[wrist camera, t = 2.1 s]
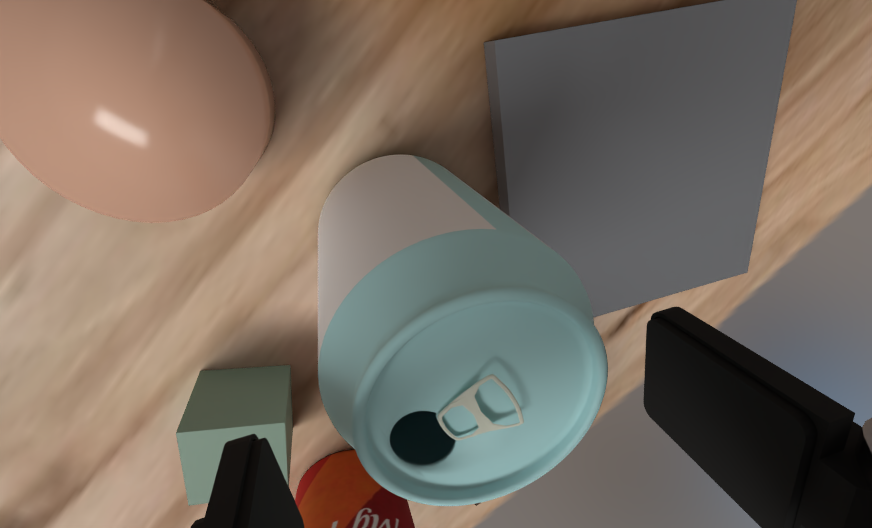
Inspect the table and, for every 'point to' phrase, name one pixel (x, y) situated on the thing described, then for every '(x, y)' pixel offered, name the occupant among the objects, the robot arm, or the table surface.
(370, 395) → the can
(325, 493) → the coffee cup
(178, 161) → the peach smooth rounded part
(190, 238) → the table surface
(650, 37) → the slate board
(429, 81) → the table surface
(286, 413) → the green block
